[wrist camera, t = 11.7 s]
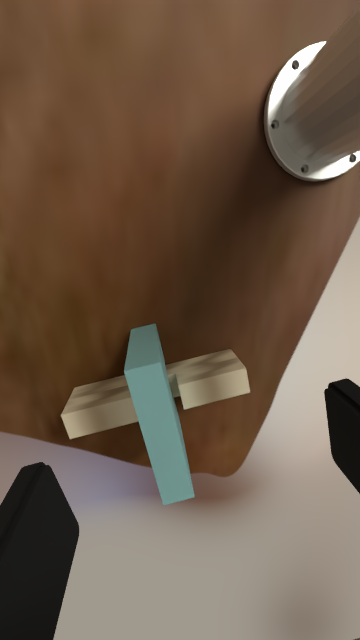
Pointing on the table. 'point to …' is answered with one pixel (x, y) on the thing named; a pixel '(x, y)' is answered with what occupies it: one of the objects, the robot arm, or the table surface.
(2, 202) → the table surface
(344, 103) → the robot arm
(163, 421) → the cross plate
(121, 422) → the slotted board
